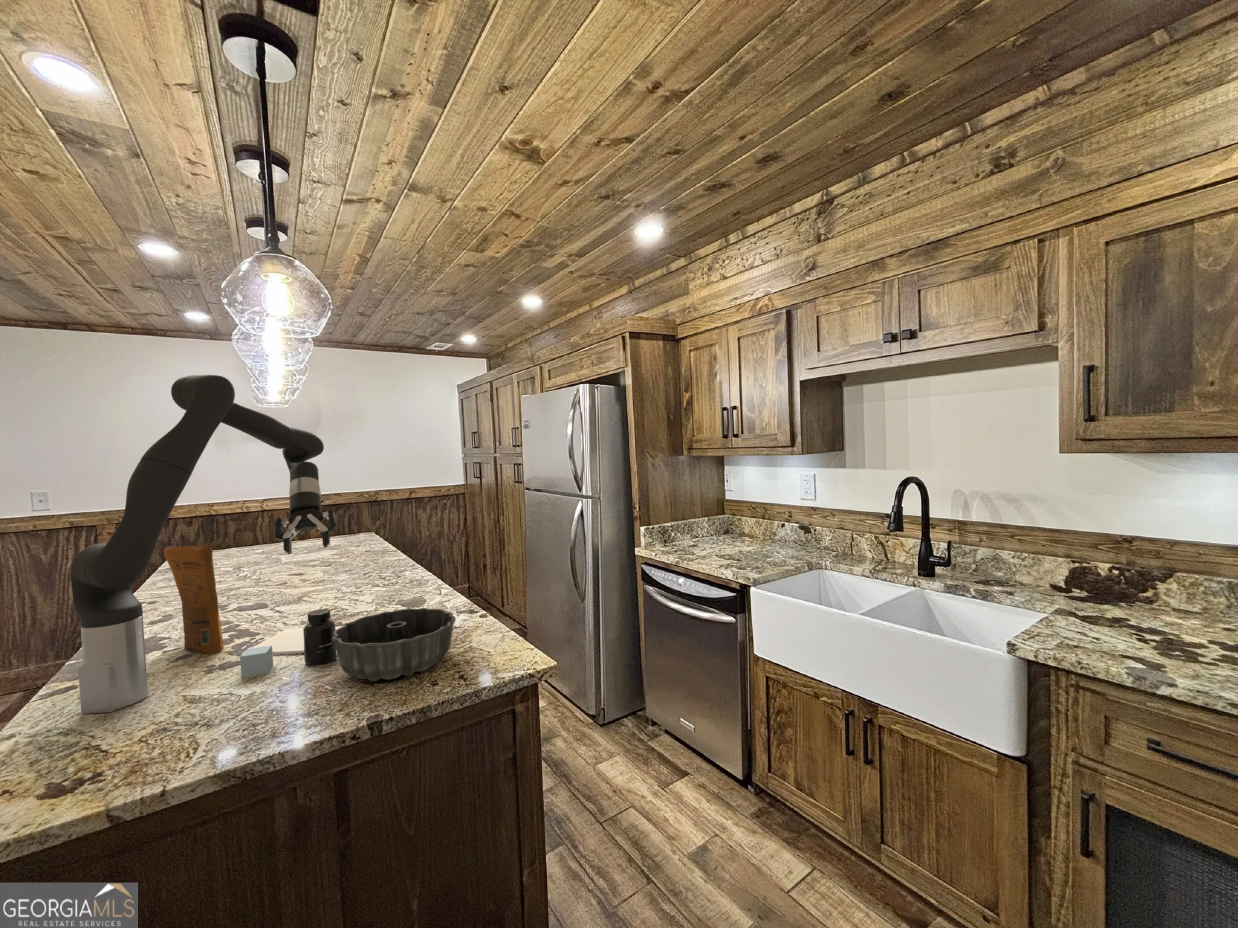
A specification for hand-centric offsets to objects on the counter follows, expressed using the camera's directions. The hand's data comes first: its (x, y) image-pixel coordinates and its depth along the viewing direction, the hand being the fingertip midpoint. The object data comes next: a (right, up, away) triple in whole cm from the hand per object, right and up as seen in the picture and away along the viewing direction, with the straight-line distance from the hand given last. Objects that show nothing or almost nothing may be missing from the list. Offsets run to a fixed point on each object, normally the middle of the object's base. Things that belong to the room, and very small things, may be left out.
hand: (307, 549), depth 137 cm
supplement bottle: (+11, -25, -12) cm, 30 cm away
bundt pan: (+32, -25, -17) cm, 43 cm away
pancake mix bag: (-28, -27, 0) cm, 39 cm away
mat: (-3, -25, +2) cm, 26 cm away
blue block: (-1, -26, -17) cm, 31 cm away
